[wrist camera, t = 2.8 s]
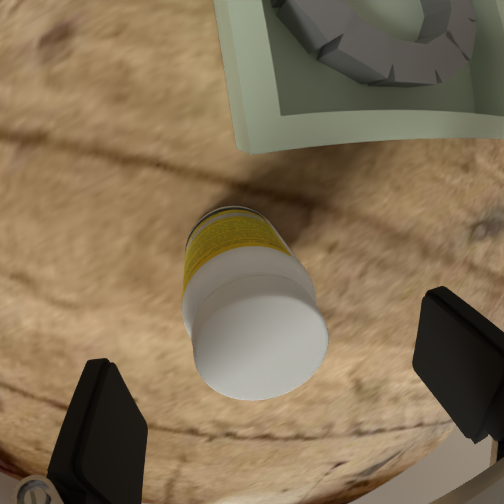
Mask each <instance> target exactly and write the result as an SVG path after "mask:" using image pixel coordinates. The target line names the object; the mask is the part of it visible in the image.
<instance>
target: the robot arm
mask: <svg viewBox="0 0 504 504" xmlns="http://www.w3.org/2000/svg"><path fill="white" fill-rule="evenodd" d="M412 364H413V368H414V371H415V372H416V373H417V375H418V376H419V377H420V378H421V380H422V381H423V382H424V383H425V385H426V386H427V387H428V389H429V390H430V391H431V392H432V394H433V395H434V396H435V397H436V399H437V400H438V401H439V403H440V404H441V405H442V407H443V408H444V409H445V410H446V412H447V413H448V414H449V416H450V417H451V418H452V420H453V421H454V422H455V424H456V425H457V426H458V428H459V429H460V430H461V432H462V433H463V434H464V436H465V437H466V438H469V439H470V438H471V440H472V441H473V442H474V444H476V443H478V442H480V441H481V440H483V439H484V438H486V437H487V436H488V434H490V436H491V437H492V448H491V458H490V467H489V468H488V469H486V470H485V471H483V472H482V473H480V474H479V475H477V476H476V477H474V478H473V479H471V480H469V481H468V482H466V483H465V484H463V485H461V486H460V487H458V488H456V489H455V490H453V491H451V492H449V493H447V494H446V495H444V496H442V497H440V498H439V499H437V500H435V501H433V502H431V503H429V504H504V332H503V331H501V330H500V329H499V328H498V327H496V326H495V325H494V324H493V323H492V322H490V321H489V320H488V319H487V318H485V317H484V316H483V315H482V314H480V313H479V312H478V311H476V310H475V309H474V308H473V307H471V306H470V305H469V304H467V303H466V302H465V301H464V300H462V299H461V298H460V297H458V296H457V295H456V294H454V293H453V292H452V291H450V290H449V289H448V288H446V287H444V286H440V287H437V288H434V289H431V290H428V291H427V292H426V294H425V296H424V297H423V299H422V304H421V312H420V319H419V326H418V332H417V338H416V344H415V350H414V355H413V361H412ZM147 435H148V428H147V423H146V421H145V419H144V417H143V416H142V414H141V412H140V410H139V409H138V407H137V405H136V403H135V401H134V399H133V398H132V396H131V394H130V392H129V390H128V388H127V386H126V384H125V382H124V380H123V378H122V376H121V374H120V372H119V370H118V368H117V366H116V365H115V363H113V362H111V363H110V361H109V360H108V359H106V358H102V359H92V360H88V361H87V363H86V365H85V367H84V370H83V372H82V375H81V377H80V380H79V382H78V385H77V387H76V390H75V392H74V395H73V397H72V400H71V403H70V405H69V408H68V411H67V413H66V416H65V419H64V422H63V424H62V427H61V430H60V433H59V436H58V439H57V442H56V445H55V448H54V451H53V454H52V457H51V460H50V464H49V467H48V470H47V471H48V474H47V477H44V476H40V475H31V476H29V477H26V478H24V479H23V480H22V481H20V482H19V483H18V485H17V486H16V487H15V490H14V492H13V499H12V501H13V504H141V500H142V486H143V474H144V463H145V453H146V444H147Z"/></svg>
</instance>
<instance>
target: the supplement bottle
mask: <svg viewBox="0 0 504 504" xmlns="http://www.w3.org/2000/svg"><path fill="white" fill-rule="evenodd" d="M182 315H183V321H184V325H185V328H186V330H187V332H188V334H189V336H190V338H191V340H192V345H193V353H194V361H195V365H196V368H197V371H198V372H199V374H200V376H201V377H202V379H203V380H204V381H205V382H206V383H207V384H208V385H209V386H210V387H211V388H212V389H214V390H215V391H217V392H219V393H221V394H223V395H225V396H228V397H231V398H235V399H240V400H265V399H270V398H274V397H278V396H281V395H283V394H286V393H288V392H290V391H292V390H294V389H296V388H297V387H299V386H300V385H302V384H303V383H304V382H306V381H307V380H308V379H309V378H310V377H311V376H312V375H313V374H314V373H315V372H316V371H317V369H318V368H319V366H320V365H321V363H322V362H323V360H324V358H325V355H326V353H327V349H328V342H329V334H328V328H327V325H326V322H325V319H324V318H323V316H322V314H321V312H320V311H319V309H318V307H317V306H316V294H315V289H314V285H313V283H312V280H311V278H310V276H309V274H308V273H307V271H306V269H305V268H304V267H303V265H302V264H301V263H300V261H299V260H298V259H297V257H296V256H295V255H294V253H293V252H292V251H291V250H290V248H289V247H288V245H287V244H286V243H285V242H284V240H283V239H282V238H281V236H280V235H279V233H278V232H277V230H276V229H275V228H274V226H273V225H272V224H271V223H270V222H269V220H268V219H266V218H265V217H264V216H263V215H261V214H260V213H258V212H256V211H254V210H252V209H250V208H247V207H243V206H225V207H221V208H218V209H215V210H213V211H211V212H209V213H208V214H206V215H205V216H203V217H202V218H201V219H200V220H199V221H198V222H197V223H196V225H195V226H194V227H193V229H192V231H191V233H190V235H189V237H188V241H187V244H186V254H185V265H184V280H183V294H182Z"/></svg>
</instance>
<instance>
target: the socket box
mask: <svg viewBox="0 0 504 504" xmlns="http://www.w3.org/2000/svg"><path fill="white" fill-rule="evenodd" d="M213 2H214V8H215V14H216V20H217V27H218V33H219V39H220V46H221V52H222V58H223V65H224V71H225V77H226V84H227V90H228V96H229V103H230V109H231V115H232V122H233V128H234V134H235V141H236V147H237V149H239V150H241V151H243V152H246V153H248V154H250V155H255V154H261V153H268V152H275V151H282V150H290V149H298V148H306V147H315V146H324V145H334V144H344V143H356V142H368V141H383V140H401V139H428V138H489V139H504V0H213Z"/></svg>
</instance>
